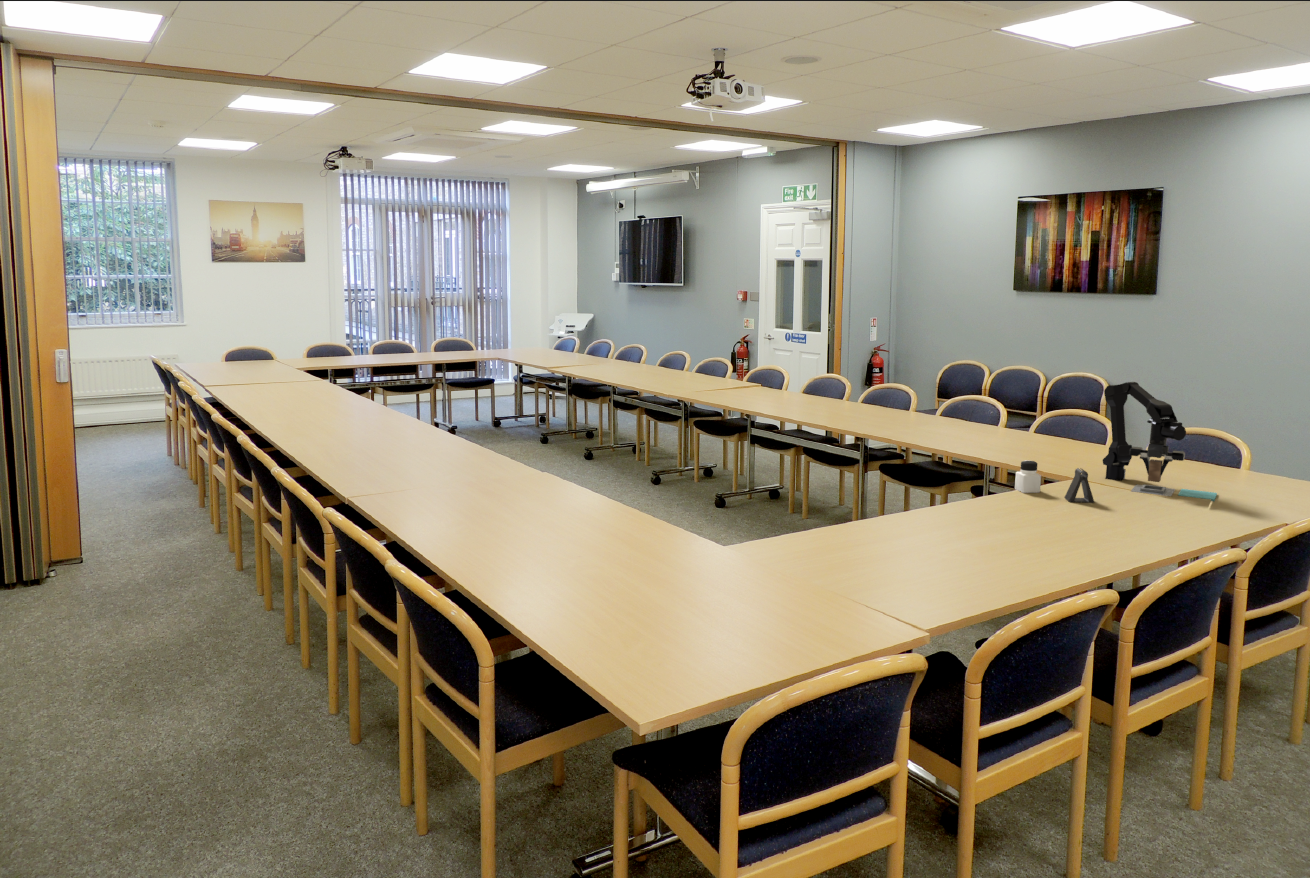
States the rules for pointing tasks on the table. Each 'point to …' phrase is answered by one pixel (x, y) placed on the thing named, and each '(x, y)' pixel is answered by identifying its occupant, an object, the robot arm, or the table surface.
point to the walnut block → (1155, 470)
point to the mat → (1198, 494)
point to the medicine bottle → (1028, 478)
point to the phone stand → (1075, 486)
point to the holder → (1153, 490)
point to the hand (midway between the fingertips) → (1154, 475)
